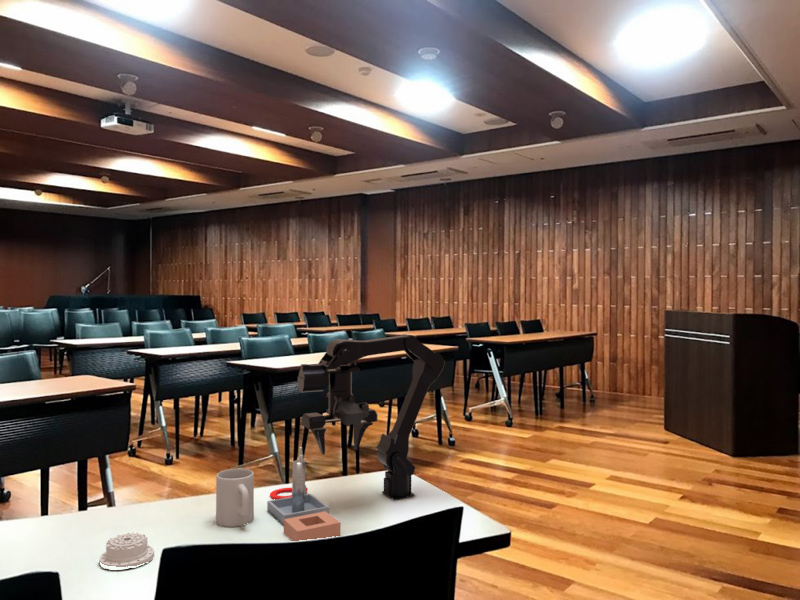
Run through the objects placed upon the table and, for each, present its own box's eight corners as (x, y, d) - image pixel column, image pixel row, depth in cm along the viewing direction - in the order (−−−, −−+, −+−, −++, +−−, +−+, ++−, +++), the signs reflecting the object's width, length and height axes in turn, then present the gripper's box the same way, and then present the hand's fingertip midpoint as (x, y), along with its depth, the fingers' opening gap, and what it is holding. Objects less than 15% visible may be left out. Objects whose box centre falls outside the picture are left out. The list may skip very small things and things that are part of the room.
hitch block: (325, 524, 145) (325, 511, 145) (340, 536, 139) (340, 522, 138) (283, 532, 140) (283, 519, 140) (297, 545, 133) (297, 531, 133)
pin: (303, 509, 153) (304, 459, 153) (305, 513, 150) (306, 463, 150) (291, 510, 153) (292, 460, 152) (292, 514, 150) (293, 463, 149)
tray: (310, 503, 159) (310, 493, 159) (329, 517, 150) (329, 507, 150) (267, 511, 153) (267, 501, 153) (284, 526, 144) (284, 515, 144)
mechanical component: (160, 550, 131) (110, 551, 130) (160, 528, 131) (110, 530, 130) (145, 571, 121) (91, 573, 120) (145, 548, 121) (91, 550, 120)
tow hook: (266, 502, 161) (302, 501, 161) (264, 452, 161) (300, 451, 160) (274, 492, 169) (308, 491, 169) (272, 444, 169) (306, 443, 169)
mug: (211, 518, 149) (211, 471, 148) (246, 511, 153) (246, 466, 153) (227, 535, 139) (227, 485, 138) (264, 527, 143) (265, 479, 143)
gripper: (319, 398, 147) (318, 465, 147) (388, 391, 157) (388, 454, 157) (300, 391, 157) (300, 454, 157) (367, 385, 166) (366, 444, 167)
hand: (339, 451), depth 159 cm, fingers open, 9 cm apart
